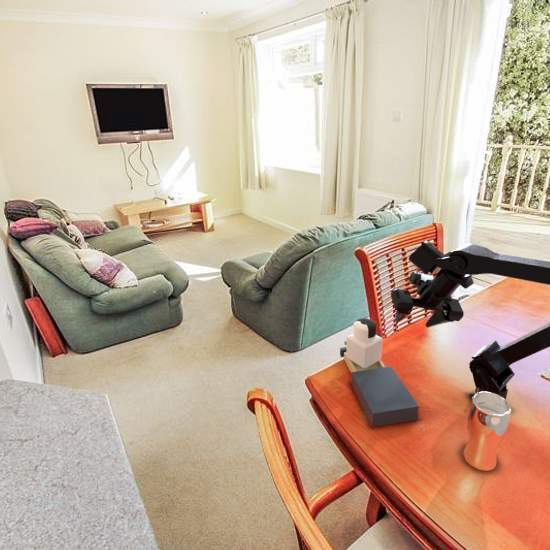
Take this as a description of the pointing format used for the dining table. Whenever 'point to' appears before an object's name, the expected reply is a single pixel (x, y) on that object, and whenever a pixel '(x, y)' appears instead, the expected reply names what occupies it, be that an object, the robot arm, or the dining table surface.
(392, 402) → the cabinet
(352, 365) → the drawer
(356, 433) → the dining table surface
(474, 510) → the dining table surface
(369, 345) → the medicine bottle
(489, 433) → the beer glass
